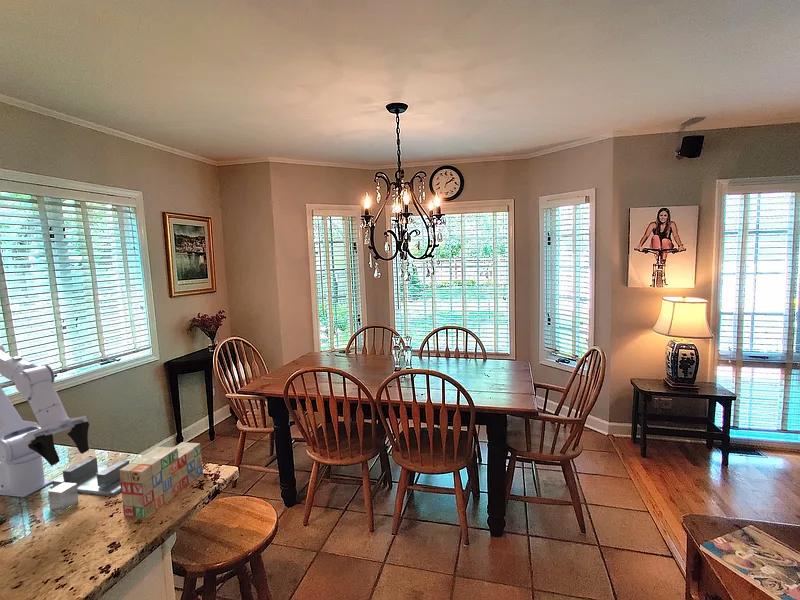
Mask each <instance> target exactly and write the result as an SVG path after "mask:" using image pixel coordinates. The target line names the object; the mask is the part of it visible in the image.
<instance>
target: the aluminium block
mask: <svg viewBox="0 0 800 600" xmlns="http://www.w3.org/2000/svg"><path fill="white" fill-rule="evenodd" d="M47 493H48V501H49V502H48V503H49V510H51V511H58V510H61V512H64V511H66V510H67V509H66V508H68V507H69V506H71V505H72V506H74V505H76V504H77V503H79V494H78V492H77V484H75V483H65V482H63V483H62V484H60V485H58V486H56V487H54V488H53V489H51V488H50V489H49V490H47ZM75 503H76V504H75ZM73 504H74V505H73ZM72 506H71V507H72ZM69 508H70V507H69ZM69 508H68V509H69ZM65 509H66V510H65Z"/></svg>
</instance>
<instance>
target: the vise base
mask: <svg viewBox="0 0 800 600" xmlns="http://www.w3.org/2000/svg"><path fill="white" fill-rule="evenodd" d="M106 468H107V467H102V466H98V457H94V456H93V457H92V456H89V457H87V458H84V459H82V460H80V461H79V462H77V463H75V464H73V465H71V466H70V467H68V468H66V469H64V470H62V475H61V476H59V477H56V478H55V479H52V480H53V481H52V485H50V486H49V488H50V490H51V489H53V488H54V487H56V486H58V485H60V484H62V483H63V482H65V483H75V484H77V492H79V494H80V493H81V494H89V495H99V496H106V497H114V496H117V495H118V494H119V493H120V492H121V484H120V482H121V479H118V480H116V481H115V482H113V483H112V484H110V485H108V486H107V487H99V486H98V483H97V474H98V473H99V472H101V471H103V470H105V469H106Z"/></svg>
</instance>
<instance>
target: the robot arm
mask: <svg viewBox="0 0 800 600" xmlns="http://www.w3.org/2000/svg"><path fill="white" fill-rule="evenodd" d="M3 345H4V344H2V343H0V375H1V376H2V377H4V378H6V379H7V380H9V381H11V382H13V383H14V385H15V386H14V387H15V389H16V390H17V392H19V393H20V394H21V395H22V397H23V399H24V400H27V401H28V403H29V405H30V408H31V410H32V412H33V414H34V416H35V419H36V421H37V422H36V421H30V420H23V419H22V417H21V416H20V413H19V412H18V411H17V409H16V408H15V406H14V405H13V403H12V402H11V401H10V398H9V397H8V396H7V394H6V393H5V391H4V390H3V388H2V386H0V496H1V495H2V496H9V497H10V496H11V497H19V498H25V497H27V496H30V495H32V494H33V493H35V492H37V491H38V490H40V489H42V488H44V487H46V486H47V485H50V484H51V483H52V481H53V480H54V479H50V478H49V479H48V478H45V471H44V463H43V458H44V459H45V461H46V462H47V463H48V464H49V465H50V466H51V467H52V466H54V465H57V464H58V463H60V457H59V455H58V451H57V450H56V447H55V443H54V435H55V434H57V433H60V432H65V431H67V430H70V431H68V432H67V434H66V435H68V437H69V438H70V439H71V440H72V441H73V443H74V444H75V446H76V447H77V450H78V452H79V453H80V454H81V455H82V454H84V453H87V452H88V451H89V450H90V449H89V439H88V435H89V428H90V427H89V426H90V423H89V420H88V418H87V416H86V415H83V416H78V417H69V416H68V413H67V411H66V409H65V407H64V405H63V403H62V401H61V399H60V396H59V395H58V392H57V391H56V388H55V385H54V382H55V380H56V379H55V373H54V369H52V367H50V366H49V365H48V364H46V363H45V364H41V365H36V364H34V363H32V362H31V361H28V360H26V359H24V358H23V357H22V356H20V355H18V356H11V355H9V354H7V353H6V349H5V347H4V346H3ZM52 484H53V483H52Z"/></svg>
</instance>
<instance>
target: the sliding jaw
mask: <svg viewBox="0 0 800 600" xmlns="http://www.w3.org/2000/svg"><path fill="white" fill-rule="evenodd" d="M128 464H130V460H129V459H121V460H119V461H117V462H115V463H114V464H112V465H110V466H108V467H105V468H106V469H105V470H103V471H101V472H99V473H98V474H97V483H98V486H99V487H107V486H108V485H110V484H112V483H113V482H115V481H116V480H118V479H120V469H122V468H123V467H125V466H127V465H128Z"/></svg>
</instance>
